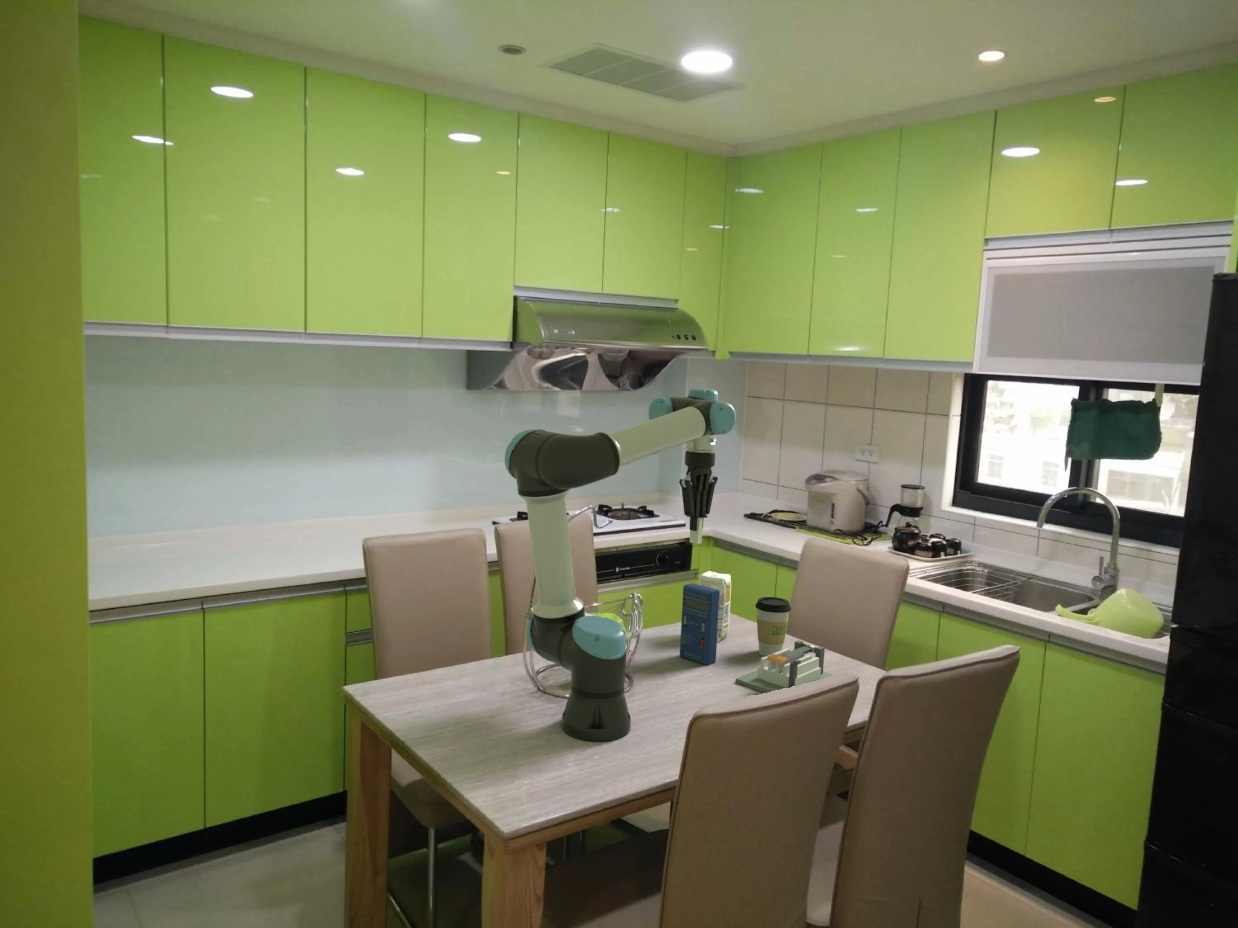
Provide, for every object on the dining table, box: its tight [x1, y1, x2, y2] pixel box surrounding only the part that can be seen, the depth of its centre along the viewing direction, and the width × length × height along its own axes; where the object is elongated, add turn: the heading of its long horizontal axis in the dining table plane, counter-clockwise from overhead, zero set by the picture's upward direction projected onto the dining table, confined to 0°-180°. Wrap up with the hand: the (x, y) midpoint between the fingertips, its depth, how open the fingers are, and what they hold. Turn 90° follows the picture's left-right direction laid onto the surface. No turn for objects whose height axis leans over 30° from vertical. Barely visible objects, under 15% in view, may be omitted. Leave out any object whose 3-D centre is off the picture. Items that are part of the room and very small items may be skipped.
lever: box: [767, 643, 818, 664], centre depth 228 cm, size 17×4×2 cm, turn 137°
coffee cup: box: [755, 596, 792, 657], centre depth 250 cm, size 10×10×15 cm
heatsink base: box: [735, 639, 835, 694], centre depth 228 cm, size 22×18×9 cm
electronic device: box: [679, 582, 720, 666], centre depth 242 cm, size 10×5×20 cm, turn 48°
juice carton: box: [697, 570, 732, 643], centre depth 261 cm, size 8×9×19 cm
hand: (695, 542), depth 228 cm, fingers closed
